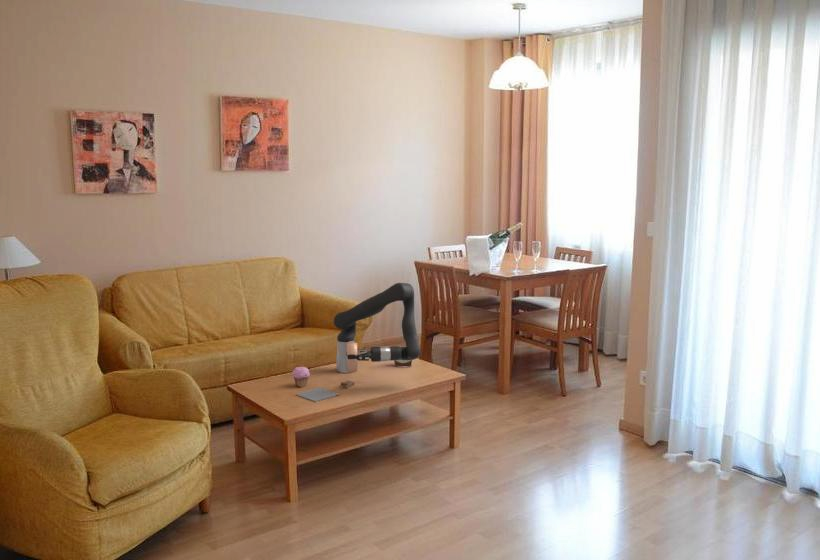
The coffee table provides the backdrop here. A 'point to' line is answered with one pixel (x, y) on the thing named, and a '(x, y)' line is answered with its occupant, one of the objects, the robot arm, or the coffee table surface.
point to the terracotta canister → (351, 362)
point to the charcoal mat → (317, 394)
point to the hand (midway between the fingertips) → (346, 355)
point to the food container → (403, 362)
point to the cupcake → (301, 376)
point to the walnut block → (347, 383)
